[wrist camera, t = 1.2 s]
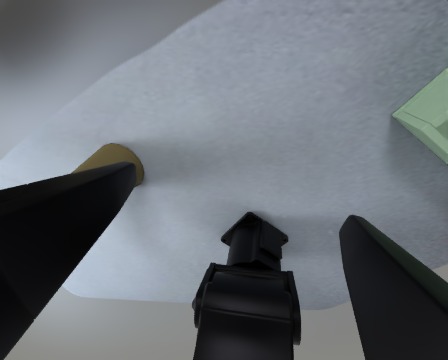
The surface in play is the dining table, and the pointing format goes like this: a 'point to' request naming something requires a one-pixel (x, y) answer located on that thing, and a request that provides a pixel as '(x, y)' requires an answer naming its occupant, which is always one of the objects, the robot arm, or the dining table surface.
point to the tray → (429, 115)
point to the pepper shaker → (112, 159)
